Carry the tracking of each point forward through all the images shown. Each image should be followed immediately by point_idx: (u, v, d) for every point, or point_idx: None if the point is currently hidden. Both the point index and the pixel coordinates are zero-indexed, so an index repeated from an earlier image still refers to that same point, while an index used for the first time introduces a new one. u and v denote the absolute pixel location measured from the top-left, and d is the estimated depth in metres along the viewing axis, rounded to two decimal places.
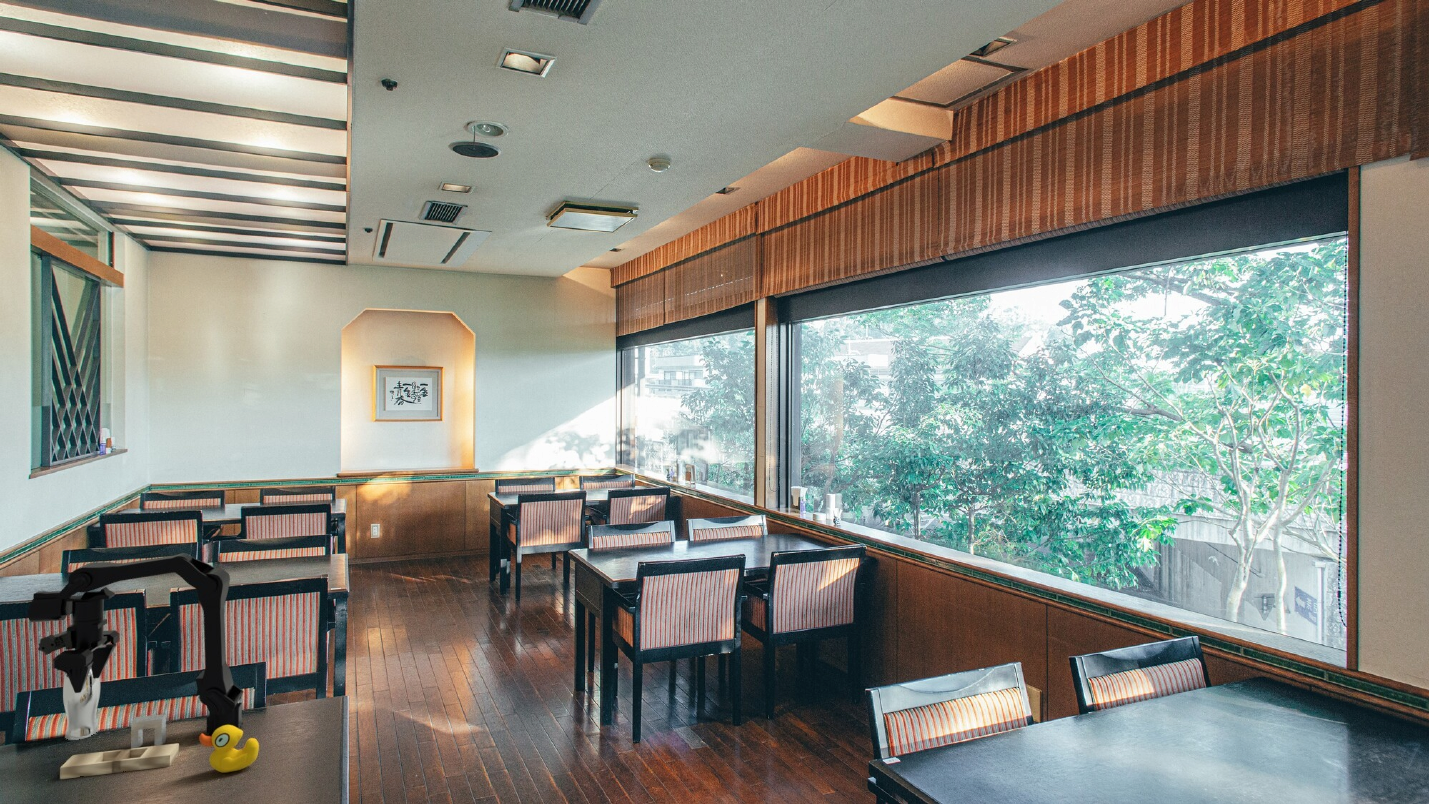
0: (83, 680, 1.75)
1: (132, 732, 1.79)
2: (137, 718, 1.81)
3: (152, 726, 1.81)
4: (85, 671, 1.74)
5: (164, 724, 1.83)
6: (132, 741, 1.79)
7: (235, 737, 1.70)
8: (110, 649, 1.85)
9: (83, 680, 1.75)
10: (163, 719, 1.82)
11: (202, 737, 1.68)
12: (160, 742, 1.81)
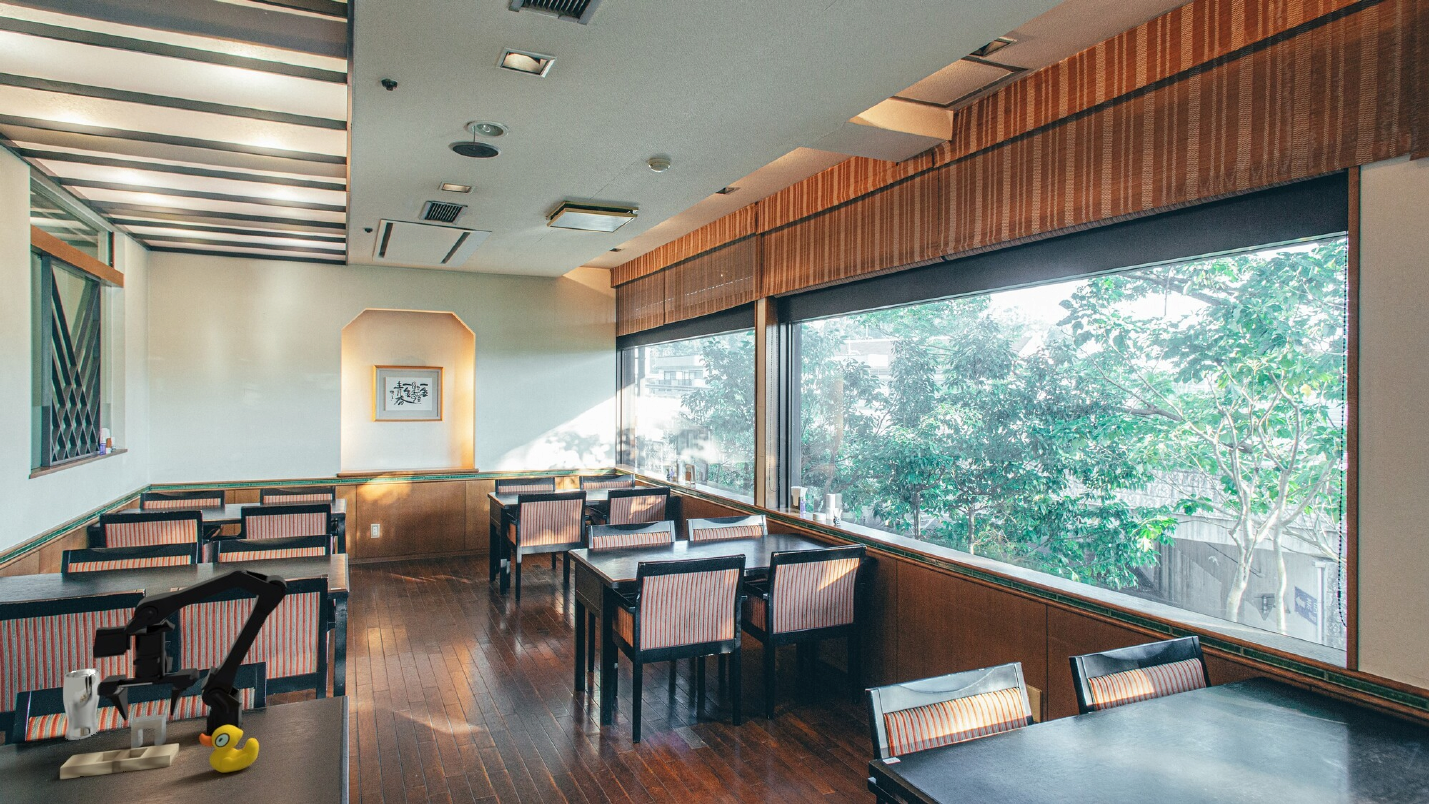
0: (118, 710, 1.78)
1: (132, 732, 1.79)
2: (137, 718, 1.81)
3: (152, 726, 1.81)
4: None
5: (164, 724, 1.83)
6: (132, 741, 1.79)
7: (235, 737, 1.70)
8: None
9: (118, 710, 1.78)
10: (163, 719, 1.82)
11: (202, 737, 1.68)
12: (160, 742, 1.81)
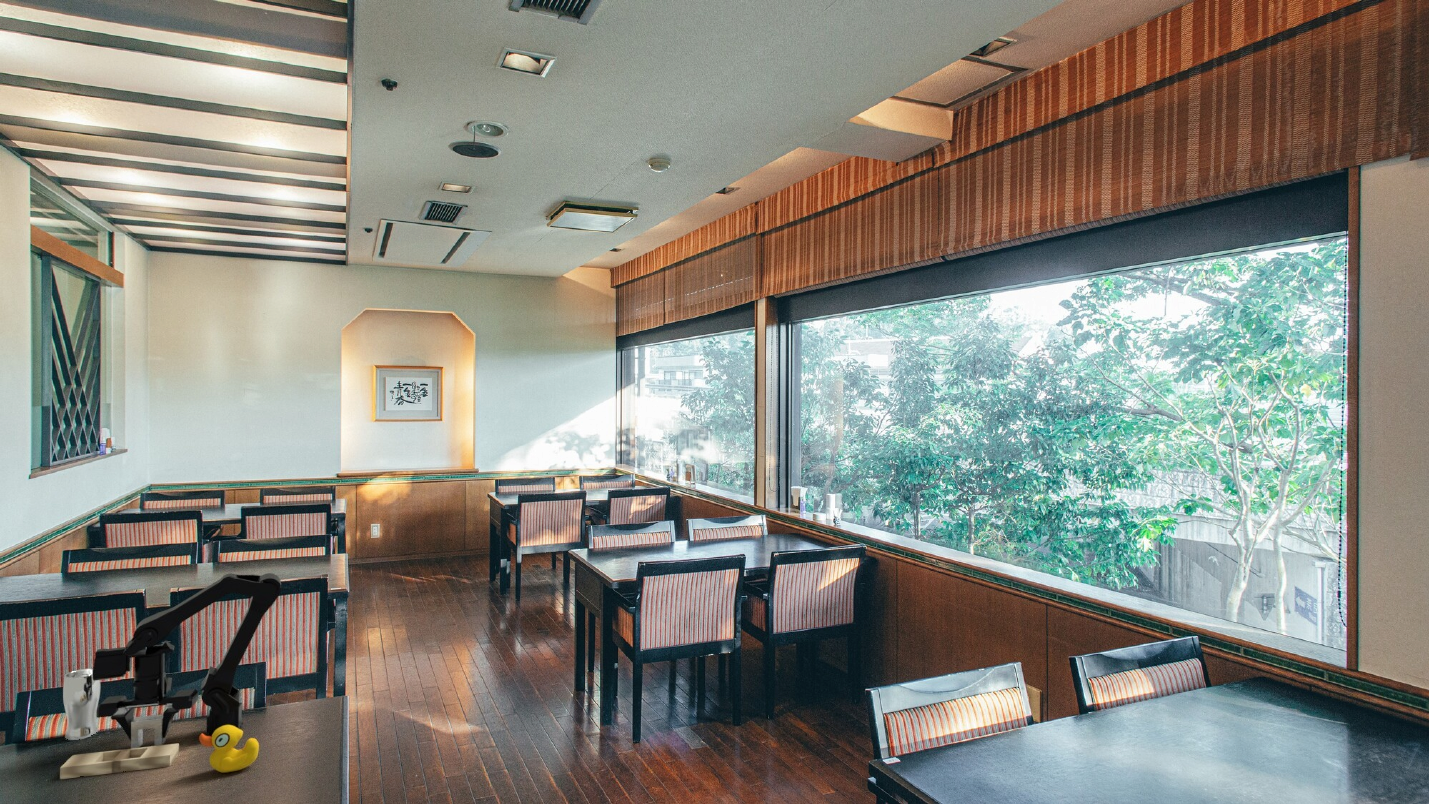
0: None
1: (132, 732, 1.79)
2: (137, 718, 1.81)
3: (152, 726, 1.81)
4: None
5: None
6: (132, 741, 1.79)
7: (235, 737, 1.70)
8: None
9: None
10: None
11: (202, 737, 1.68)
12: (160, 742, 1.81)
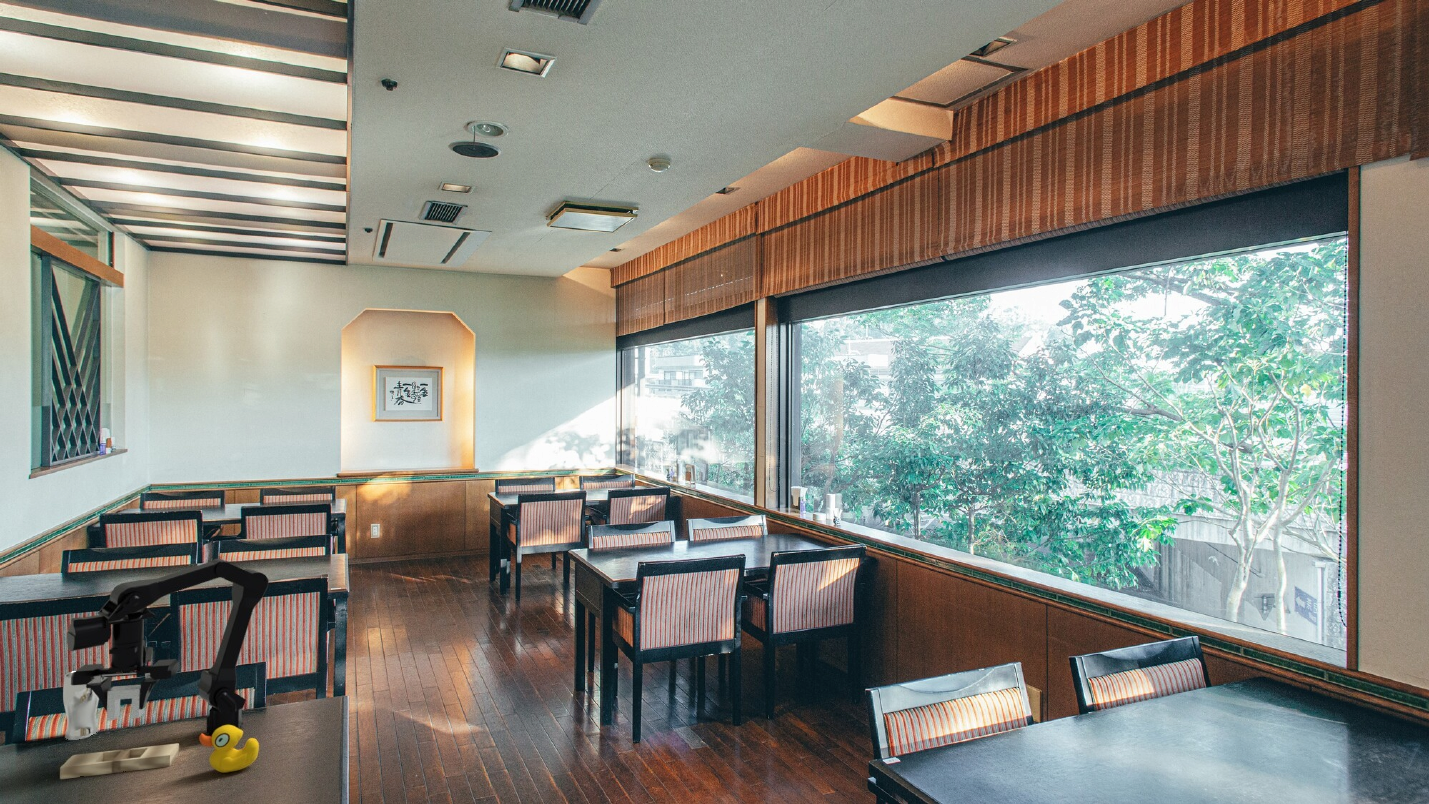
0: None
1: (108, 702, 1.71)
2: (114, 688, 1.73)
3: (129, 696, 1.72)
4: None
5: None
6: (108, 711, 1.71)
7: (235, 737, 1.70)
8: None
9: None
10: None
11: (202, 737, 1.68)
12: (137, 713, 1.73)
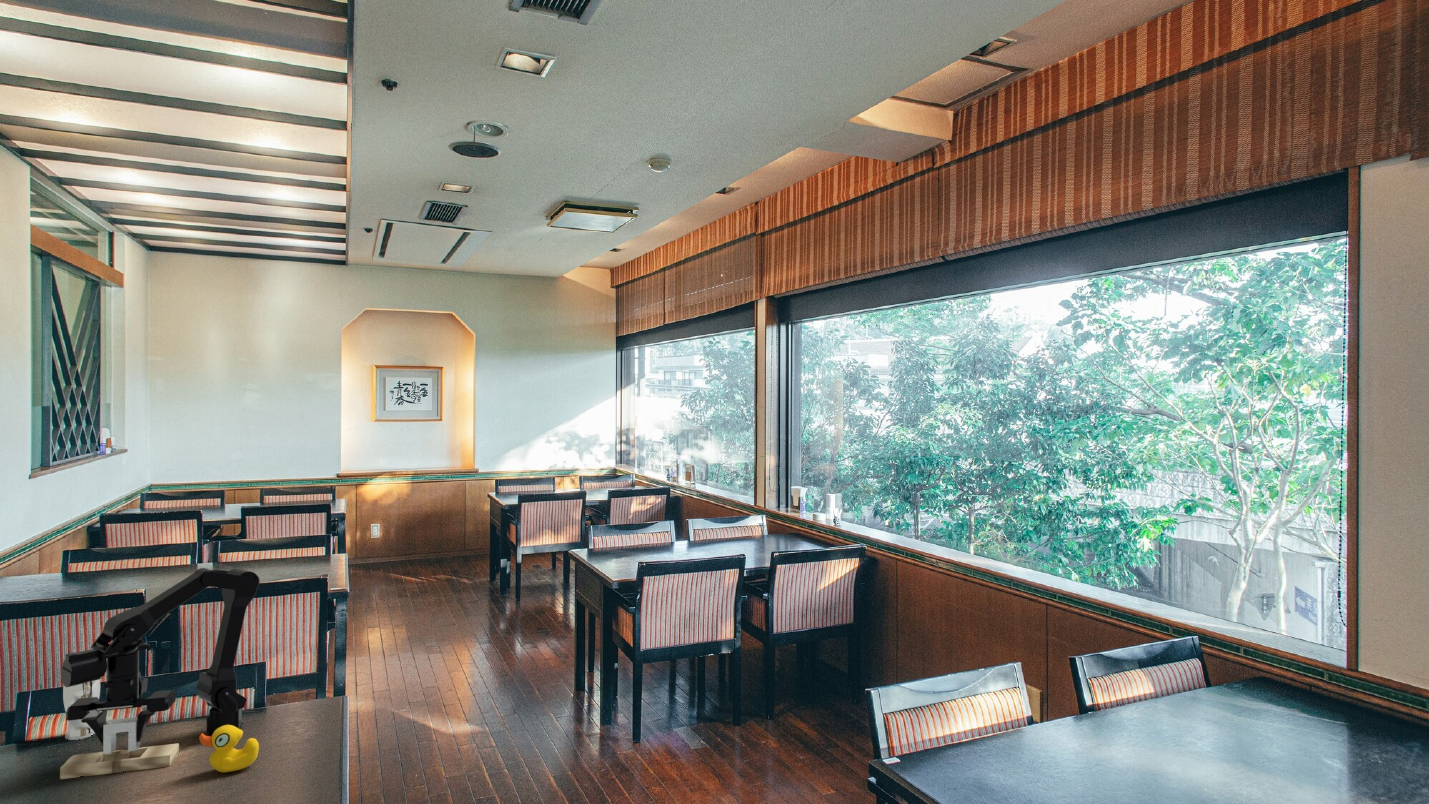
0: None
1: (104, 736, 1.69)
2: (110, 721, 1.71)
3: (126, 729, 1.70)
4: None
5: None
6: (104, 745, 1.69)
7: (235, 737, 1.70)
8: None
9: None
10: None
11: (202, 737, 1.68)
12: (134, 746, 1.71)
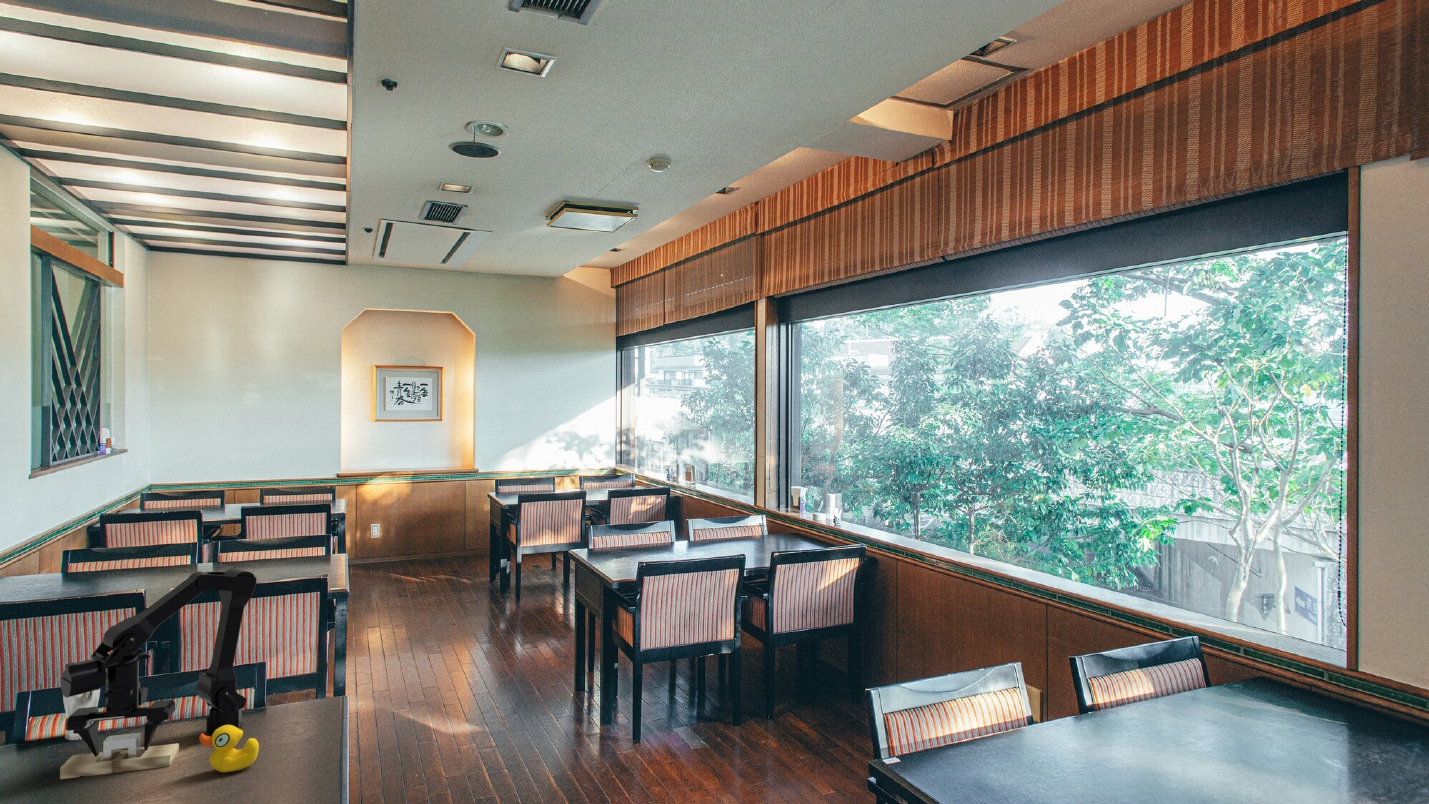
0: None
1: (104, 752, 1.69)
2: (110, 737, 1.71)
3: (126, 746, 1.71)
4: None
5: (139, 743, 1.73)
6: None
7: (235, 737, 1.70)
8: (145, 725, 1.71)
9: None
10: (138, 738, 1.72)
11: (202, 737, 1.68)
12: None
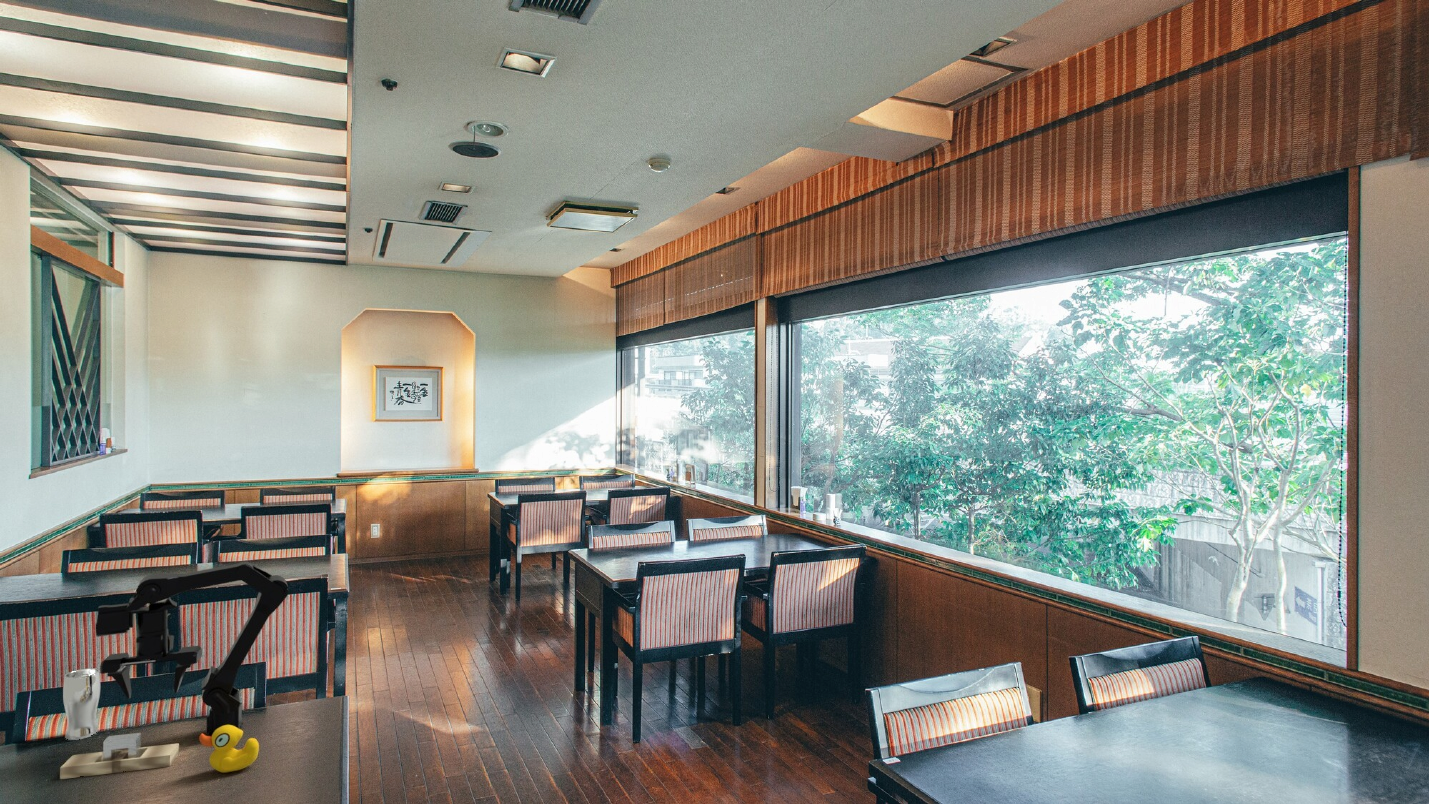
0: None
1: (104, 752, 1.69)
2: (110, 737, 1.71)
3: (126, 746, 1.71)
4: None
5: (139, 743, 1.73)
6: None
7: (235, 737, 1.70)
8: (175, 669, 1.81)
9: (121, 688, 1.78)
10: (138, 738, 1.72)
11: (202, 737, 1.68)
12: None
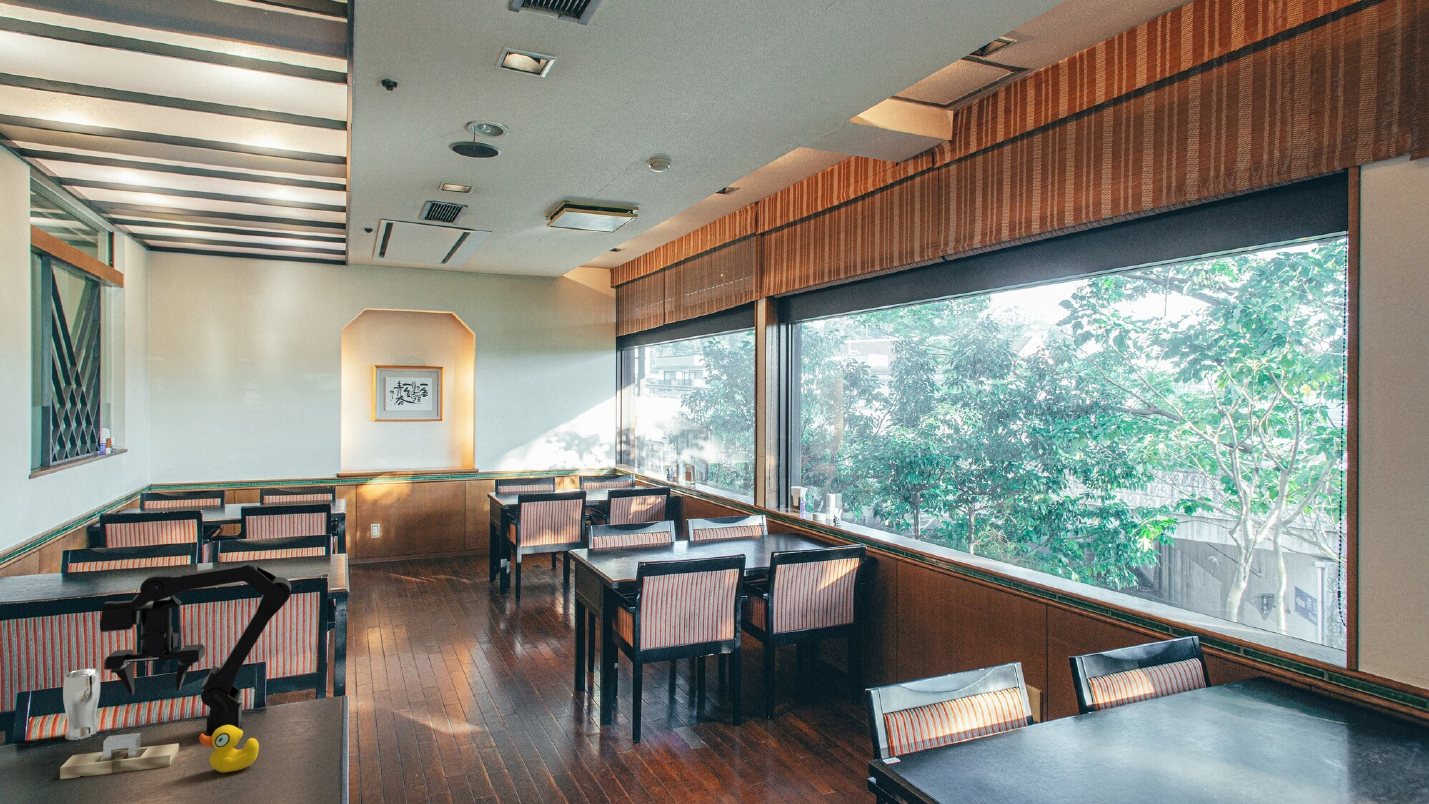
0: (124, 684, 1.79)
1: (104, 752, 1.69)
2: (110, 737, 1.71)
3: (126, 746, 1.71)
4: None
5: (139, 743, 1.73)
6: None
7: (235, 737, 1.70)
8: None
9: None
10: (138, 738, 1.72)
11: (202, 737, 1.68)
12: None
